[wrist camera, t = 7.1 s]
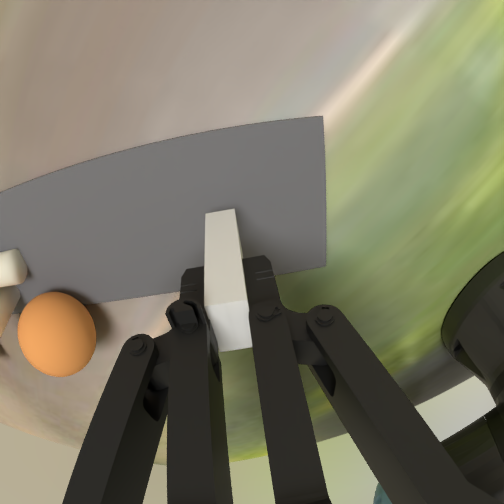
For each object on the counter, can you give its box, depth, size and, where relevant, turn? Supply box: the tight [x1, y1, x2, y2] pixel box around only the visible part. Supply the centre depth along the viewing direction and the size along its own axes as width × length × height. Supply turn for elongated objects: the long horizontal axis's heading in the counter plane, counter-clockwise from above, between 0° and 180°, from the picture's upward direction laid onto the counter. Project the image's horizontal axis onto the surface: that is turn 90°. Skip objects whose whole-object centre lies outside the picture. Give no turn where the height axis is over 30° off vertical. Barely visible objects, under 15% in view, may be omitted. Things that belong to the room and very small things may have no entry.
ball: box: [18, 292, 96, 377], centre depth 19 cm, size 6×6×6 cm
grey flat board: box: [0, 116, 326, 314], centre depth 18 cm, size 27×10×1 cm, turn 97°
